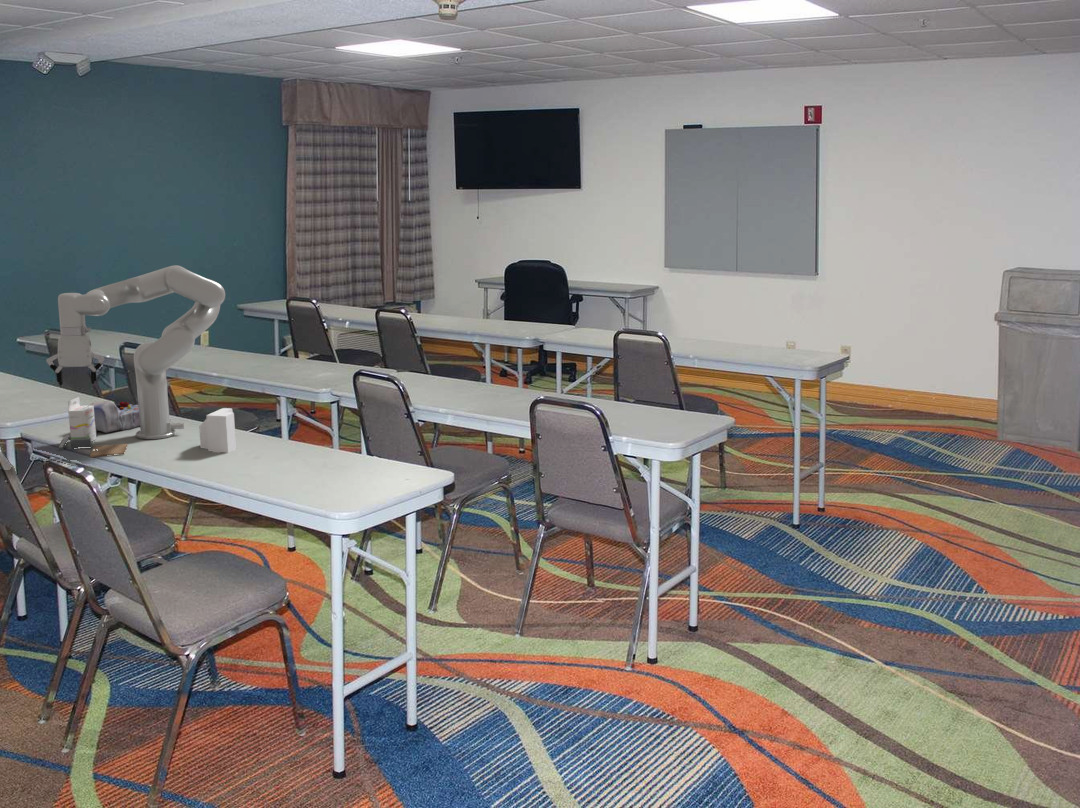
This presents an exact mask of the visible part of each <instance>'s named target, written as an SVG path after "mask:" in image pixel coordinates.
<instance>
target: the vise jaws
mask: <svg viewBox="0 0 1080 808" xmlns="http://www.w3.org/2000/svg"><path fill="white" fill-rule="evenodd" d="M95 429H96V438H97V437H98V430H97V428H96V427H95ZM69 438H70V439H69ZM68 439H69V441H68ZM67 441H68V442H69V443H70V450H71V451H72V450H73V449H74V448H78V447H91V446H92V442H91V438H81V439H71V435H70V434H66V435H65V436H64V438H63V439H62V441H61V443H60V444H59V446H58V448H57V449H58V451H64V450H65V447H66V446H65V444H66V442H67ZM68 442H67V443H68ZM66 445H67V444H66ZM92 447H93V446H92ZM92 447H91V448H92ZM74 450H75V449H74Z"/></svg>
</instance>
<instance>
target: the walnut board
mask: <svg viewBox="0 0 1080 808" xmlns="http://www.w3.org/2000/svg"><path fill="white" fill-rule="evenodd" d="M126 447H127V448H128V443H120V444H103V445H94V446H93V447H92V450H91V452H90V454H89V458H96V457H108V456H107V455H114V454H124V452H125V453H126V451H127V448H126ZM93 449H95V451H93ZM96 449H98V451H97V450H96ZM125 450H126V451H125ZM124 455H125V454H124Z"/></svg>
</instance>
